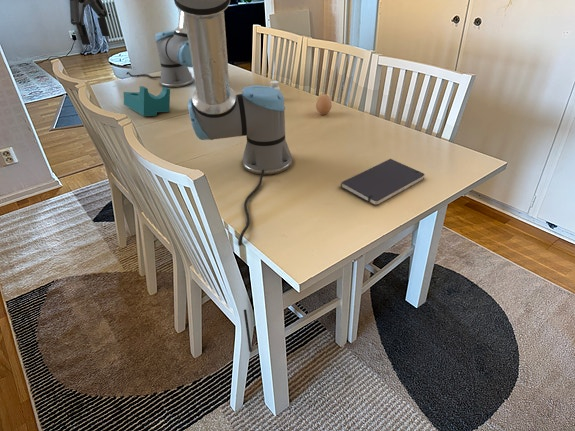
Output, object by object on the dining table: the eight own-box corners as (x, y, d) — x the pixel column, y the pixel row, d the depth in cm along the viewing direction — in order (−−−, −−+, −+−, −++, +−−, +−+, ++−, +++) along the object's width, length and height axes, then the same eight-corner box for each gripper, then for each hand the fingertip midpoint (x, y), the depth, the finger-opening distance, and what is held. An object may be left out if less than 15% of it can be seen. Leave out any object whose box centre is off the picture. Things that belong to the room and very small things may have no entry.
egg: (320, 118, 154) (320, 97, 149) (313, 113, 158) (313, 93, 154) (334, 115, 156) (335, 95, 151) (326, 110, 160) (327, 90, 156)
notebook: (389, 163, 124) (340, 187, 113) (390, 158, 123) (341, 182, 112) (424, 178, 116) (375, 206, 105) (425, 174, 115) (376, 201, 104)
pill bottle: (270, 98, 174) (269, 80, 169) (280, 98, 173) (280, 80, 169) (269, 101, 170) (268, 83, 165) (279, 102, 170) (279, 83, 165)
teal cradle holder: (169, 115, 164) (170, 89, 159) (143, 115, 156) (144, 88, 152) (148, 104, 174) (148, 79, 170) (123, 104, 167) (123, 78, 163)
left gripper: (87, -30, 149) (104, 32, 161) (45, -22, 129) (67, 48, 141) (106, -30, 148) (121, 32, 160) (66, -22, 128) (87, 48, 140)
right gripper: (197, -20, 133) (207, 48, 145) (172, -9, 113) (185, 69, 125) (220, -20, 132) (227, 48, 144) (198, -9, 112) (208, 69, 125)
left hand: (96, 40), depth 151 cm, fingers open, 13 cm apart
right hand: (207, 58), depth 135 cm, fingers open, 13 cm apart
